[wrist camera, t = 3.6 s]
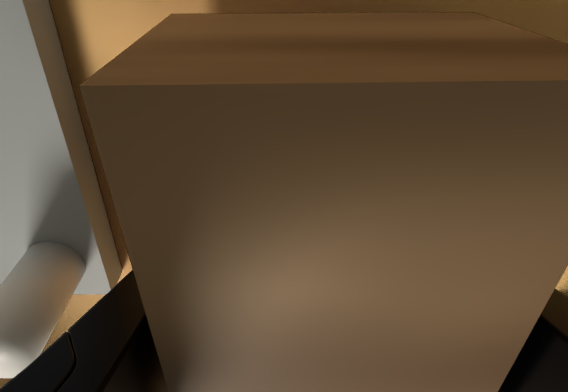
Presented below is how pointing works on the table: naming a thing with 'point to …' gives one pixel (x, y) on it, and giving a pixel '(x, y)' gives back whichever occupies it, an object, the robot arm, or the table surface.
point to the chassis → (43, 190)
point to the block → (338, 196)
